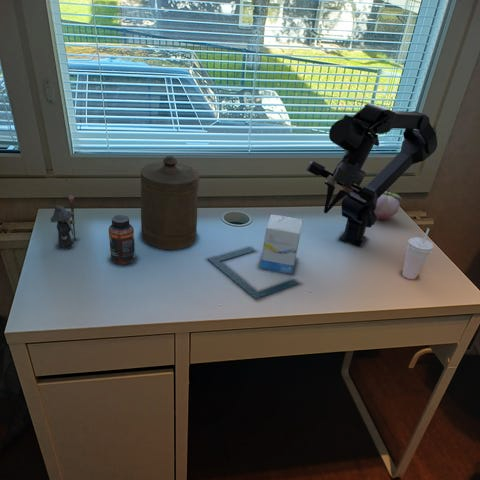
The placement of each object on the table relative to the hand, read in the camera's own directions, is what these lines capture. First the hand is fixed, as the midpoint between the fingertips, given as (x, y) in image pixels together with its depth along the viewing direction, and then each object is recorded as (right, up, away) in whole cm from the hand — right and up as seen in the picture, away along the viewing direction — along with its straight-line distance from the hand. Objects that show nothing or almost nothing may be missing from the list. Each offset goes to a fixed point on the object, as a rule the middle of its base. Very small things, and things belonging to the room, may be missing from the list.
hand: (324, 212), depth 125 cm
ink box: (-12, -14, 0) cm, 18 cm away
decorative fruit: (+23, +4, +28) cm, 37 cm away
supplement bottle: (-52, -13, -6) cm, 54 cm away
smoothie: (+23, -17, +2) cm, 28 cm away
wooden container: (-42, -6, +6) cm, 43 cm away
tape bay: (-19, -16, -5) cm, 26 cm away
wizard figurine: (-67, -9, -3) cm, 68 cm away
